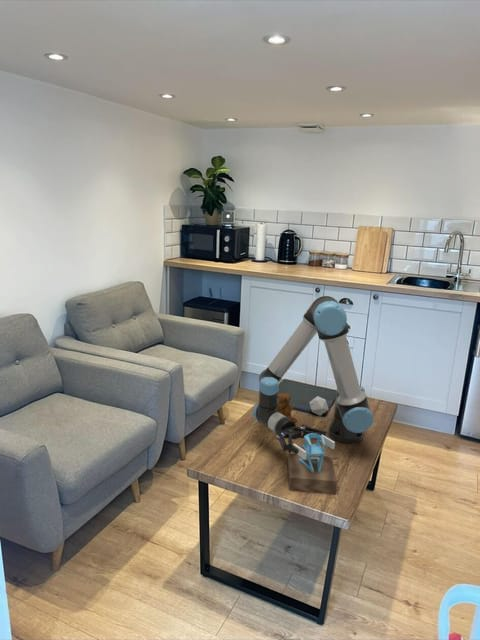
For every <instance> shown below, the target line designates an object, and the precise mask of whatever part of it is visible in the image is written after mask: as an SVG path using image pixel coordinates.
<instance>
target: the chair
mask: <svg viewBox="0 0 480 640" xmlns="http://www.w3.org/2000/svg"><path fill="white" fill-rule="evenodd" d="M311 438H317V439H318V440H317V439H316V443H312V442H311ZM303 439H304V444H302V447H301V448H302V449H303V450H305V451H306V452H307V458H306V459H305V460H304V459H299V462H300V463H301V464H302V465H304V466H305V467H306V468H307V469H309V470H310V471H311V472H312V473H314V468H313V466H312V463H311V461H314V460H317V470H318V472H321V465H322V461H323V458H324V456H326V454H327V453H326V451H325V447H326V445H325V440H324V437H322V436H320V435H318V434H316V433H310V434H307V435H306V436H304V438H303ZM320 439H321V440H322V442H321V444H322V445H321V444H320ZM314 455H315V456H320V460H319V458H310V456H314ZM304 461H309V464H310V466H309V465H308V464H306V463H305V462H304Z"/></svg>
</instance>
